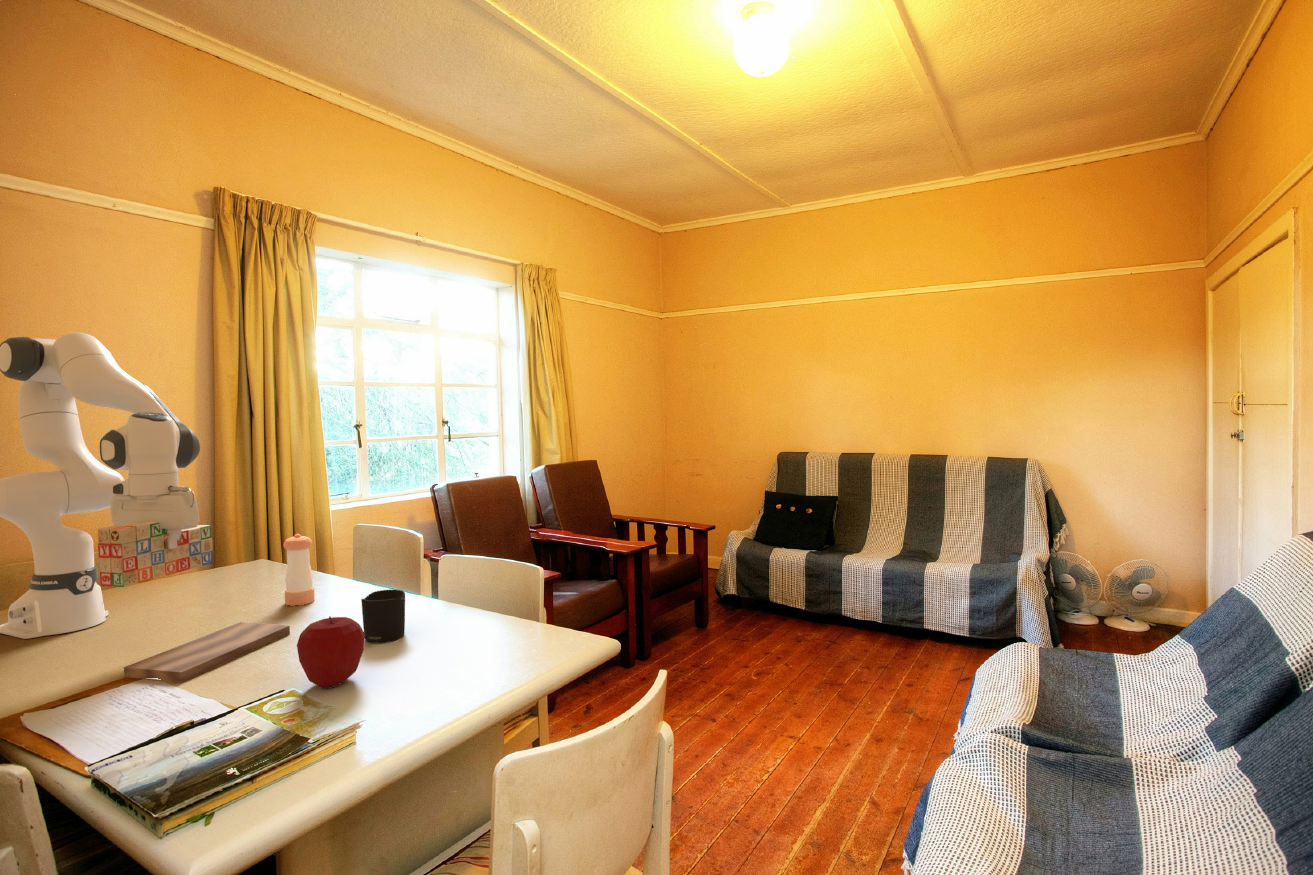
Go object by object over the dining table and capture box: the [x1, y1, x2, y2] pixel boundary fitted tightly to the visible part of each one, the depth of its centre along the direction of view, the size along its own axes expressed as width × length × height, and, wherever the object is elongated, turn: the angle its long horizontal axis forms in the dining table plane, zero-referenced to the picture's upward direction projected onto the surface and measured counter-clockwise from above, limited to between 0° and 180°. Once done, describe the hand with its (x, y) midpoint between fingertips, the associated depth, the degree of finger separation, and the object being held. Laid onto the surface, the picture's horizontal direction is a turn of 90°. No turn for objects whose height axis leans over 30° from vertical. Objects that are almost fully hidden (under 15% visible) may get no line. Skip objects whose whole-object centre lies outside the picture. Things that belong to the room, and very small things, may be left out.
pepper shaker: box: [282, 533, 315, 607], centre depth 181 cm, size 7×7×19 cm
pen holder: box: [361, 589, 406, 644], centre depth 152 cm, size 9×9×10 cm
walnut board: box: [123, 621, 291, 683], centre depth 143 cm, size 14×28×2 cm, turn 168°
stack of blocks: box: [97, 521, 214, 588], centre depth 145 cm, size 21×6×12 cm, turn 168°
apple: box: [296, 615, 365, 689], centre depth 126 cm, size 12×12×13 cm
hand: (157, 547), depth 145 cm, fingers closed on stack of blocks, 6 cm apart
